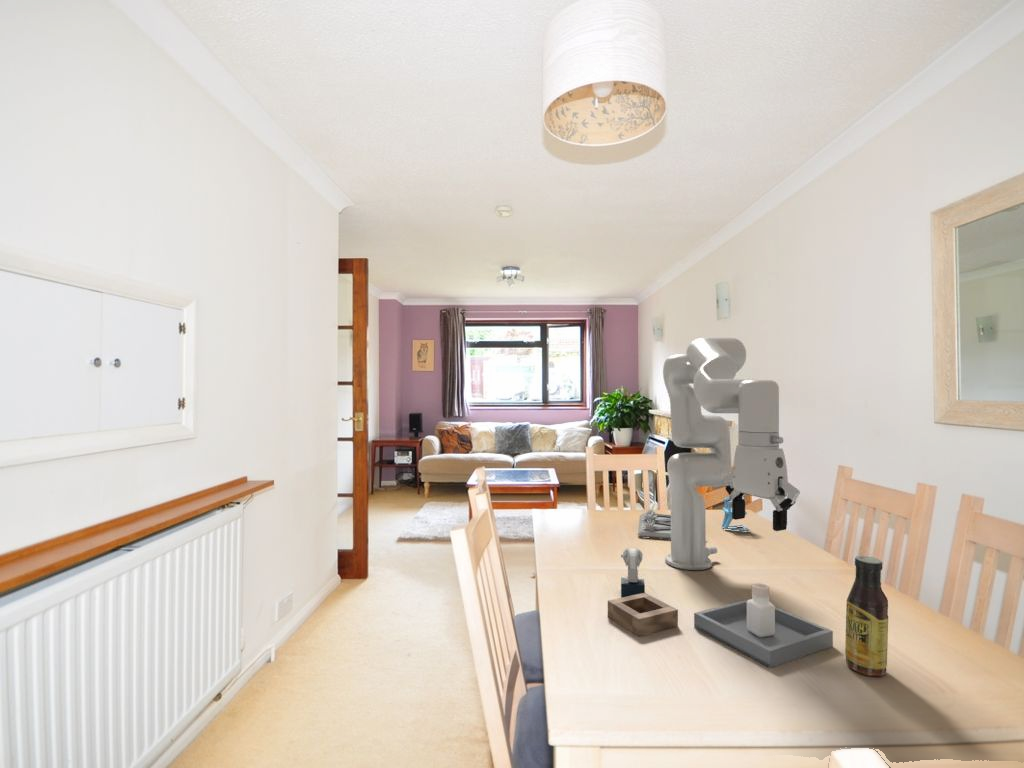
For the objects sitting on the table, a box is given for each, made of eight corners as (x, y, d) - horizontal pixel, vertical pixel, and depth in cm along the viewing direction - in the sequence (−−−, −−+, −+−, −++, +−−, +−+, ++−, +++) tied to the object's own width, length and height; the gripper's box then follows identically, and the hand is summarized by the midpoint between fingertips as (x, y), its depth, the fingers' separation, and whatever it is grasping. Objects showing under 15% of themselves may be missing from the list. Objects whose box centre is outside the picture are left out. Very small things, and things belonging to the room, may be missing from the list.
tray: (753, 611, 118) (753, 597, 118) (832, 646, 102) (832, 630, 102) (694, 627, 110) (694, 612, 110) (769, 668, 94) (769, 651, 94)
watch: (643, 588, 132) (643, 544, 132) (644, 601, 124) (644, 554, 124) (620, 587, 133) (620, 543, 133) (620, 599, 125) (620, 553, 125)
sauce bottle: (837, 661, 97) (836, 552, 97) (869, 659, 97) (868, 551, 97) (863, 680, 90) (863, 564, 90) (898, 679, 91) (897, 563, 91)
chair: (719, 526, 192) (719, 493, 192) (743, 527, 191) (743, 494, 191) (725, 532, 184) (724, 498, 184) (750, 533, 183) (749, 498, 183)
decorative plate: (705, 544, 171) (705, 522, 171) (637, 539, 177) (637, 518, 177) (698, 522, 200) (698, 503, 200) (639, 518, 206) (639, 500, 206)
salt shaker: (760, 639, 104) (759, 590, 104) (745, 630, 108) (745, 583, 108) (776, 636, 105) (776, 588, 105) (761, 627, 109) (761, 581, 109)
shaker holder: (644, 607, 120) (644, 592, 120) (677, 626, 111) (677, 609, 111) (607, 616, 116) (607, 600, 116) (638, 636, 106) (638, 619, 106)
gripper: (810, 443, 101) (810, 532, 101) (736, 435, 117) (736, 513, 117) (784, 445, 98) (784, 537, 98) (711, 437, 114) (711, 516, 114)
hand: (758, 524), depth 107 cm, fingers open, 9 cm apart
